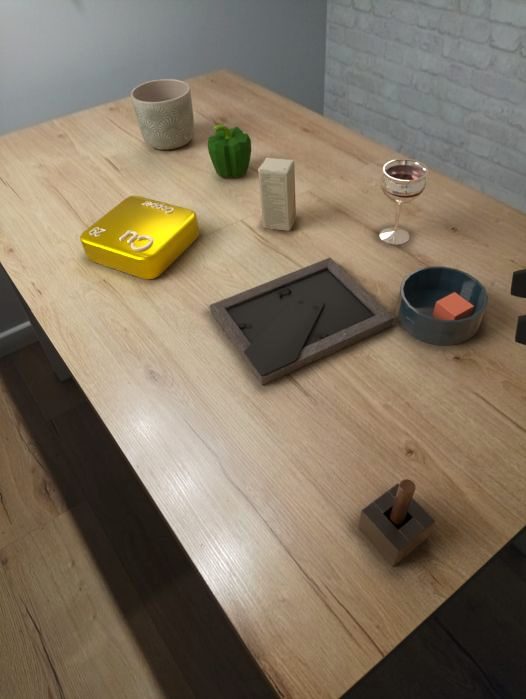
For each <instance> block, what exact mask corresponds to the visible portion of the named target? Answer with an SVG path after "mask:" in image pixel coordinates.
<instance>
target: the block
mask: <svg viewBox="0 0 526 699" xmlns="http://www.w3.org/2000/svg"><path fill="white" fill-rule="evenodd" d="M473 308H474V306H473V305H472V304H471V303H469V302H468V301H466V300H465V299H464V298H462V297H461V296H460V295H458V294H457V293H455V292H454V293H452V294H450V295H448V296H446V297H444V298H442V299H440V300H439V301H437V302H436V304H435V308H434V312H433V315H432V318H437V319H442V320H460V319H464V318H468V317H471V314H472V311H473Z"/></svg>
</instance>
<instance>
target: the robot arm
mask: <svg viewBox="0 0 526 699" xmlns="http://www.w3.org/2000/svg"><path fill="white" fill-rule="evenodd" d="M510 296H513V297H517V298H520V299H526V268H524V269H523V268H522V269H518V270H515V271H513V272H512V278H511V285H510ZM514 341H515V343H516V344H520V345H523V346H526V314H523V315H518V316H517V323H516V329H515V334H514Z"/></svg>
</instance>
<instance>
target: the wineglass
mask: <svg viewBox="0 0 526 699" xmlns="http://www.w3.org/2000/svg"><path fill="white" fill-rule="evenodd" d="M382 172H383V174H382V175H381V179H380V187H381V191H382V193H383V194H384V195H385V196H386V197H387V199H389V200H390V201H391V202H394V203H396V211H395V212H396V213H395V220H394V226H391V227H385V228H384V229H382V230H380V232H379V238H380V239H381V241H382V242H384V243H386V244H390V245H397V246H398V245H403V244H406V243H407V242H408V241H409V240H410V238H411V237H410V234H409V232H408V231H407V230H406V229H403V228H402V227H398V225H399V220H400V218H401V212H402V207H403V205H404V204H407V203H411V202H413V201H414V200H416V199H417V198H419V197H420V196H421V194H422V193H423V192H424V190H425V188H426V185H427V181H426V180H427V179H426V178H427V177H426V176H427V174H428V172H429V171H428V167H427V166H426V164H424V163H422V162H420V161H419V160H415V159H411V158H398V159H392V160H389V161H388V162H386V163H385V164H384V165H383V167H382Z"/></svg>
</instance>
